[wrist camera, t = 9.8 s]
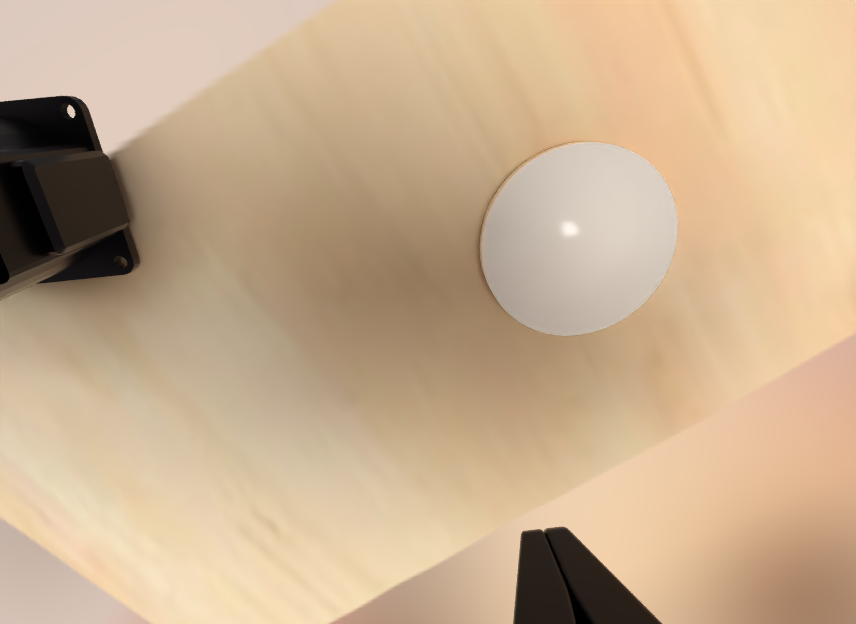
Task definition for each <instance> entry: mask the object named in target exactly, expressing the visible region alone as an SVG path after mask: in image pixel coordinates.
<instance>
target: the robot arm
mask: <svg viewBox="0 0 856 624" xmlns="http://www.w3.org/2000/svg"><path fill="white" fill-rule="evenodd" d="M68 105H71V106H72V107H73V108H74V110H75V117H74V118H72V117H70V116H69V114H68V113H67V107H68ZM128 223H129V218H128V215H127V212H126V209H125V206H124V203H123V200H122V197H121V194H120V191H119V188H118V185H117V182H116V179H115V176H114V173H113V170H112V167H111V164H110V161H109V158H108V156H106V155H105V154H104V153H103V151H102V148H101V145H100V142H99V139H98V136H97V133H96V130H95V127H94V124H93V121H92V118H91V115H90V112H89V110H88V108H87V106H86V104H85V103H84V102H83V101H82V100H80V99H78V98H76V97H71V96H56V97H46V98H35V99H24V100H14V101H4V102H0V300H2V299H4V298H6V297H8V296H11V295H13V294H15V293H17V292H19V291H21V290H23V289H25V288H28V287H30V286H32V285H34V284H38V283H48V282H58V281H67V280H77V279H87V278H96V277H106V276H116V275H125V274H128V273H130V272H132V271H134V270H135V269H136V268H137V267H138V264H139V259H138V256H137V253H136V250H135V247H134V244H133V241H132V238H131V235H130V232H129V229H128V226H127V225H128ZM119 256H121V257H123V258H125V259H126V261H127V266H126V265H123V264H122V263H121V262H120V261H119ZM513 624H662V623H661V622H660V621H659V620H658V619H657V618H656V617H655V616H654V615H653V614H652V613H651V612H650V611H649V610H648V609H647V608H646V607H645V606H644V605H643V604H642V603H641V602H640V601H639V600H638V599H637V598H636V597H635V596H634V595H633V594H632V593H631V592H630V591H629V590H628V589H627V588H626V587H625V586H624V585H623V584H622V583H621V582H620V581H619V580H618V579H617V578H616V577H615V576H614V575H613V574H612V573H611V572H610V571H609V570H608V569H607V568H606V567H605V566H604V565H603V564H602V563H601V562H600V561H599V560H598V559H597V558H596V557H595V556H594V555H593V554H592V553H591V552H590V551H589V550H588V549H587V548H586V547H585V546H584V545H583V544H582V543H581V541H580V540H579V539H577V537H575V535H574V534H573V533H571V532H570V530H568V529H567V528H565V527H555V528H547V529H545V530H544V532H543V531H542V530H540V529H537V530H528V531H523V532H522V534H521V541H520V552H519V563H518V575H517V586H516V598H515V609H514V620H513Z"/></svg>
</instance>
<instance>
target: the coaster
mask: <svg viewBox="0 0 856 624" xmlns="http://www.w3.org/2000/svg"><path fill="white" fill-rule="evenodd" d="M677 233H678V220H677V210H676V206H675V202H674V198H673V196H672V193H671V191H670V188H669V186H668V185H667V183H666V181H665V180H664V178H663V177H662V175H661V174H660V173H659V172H658V170H657V169H656V168H655V167H654V166H653V165H652V164H651V163H649V162H648V161H647V160H646V159H644V158H643V157H641V156H640V155H638V154H637V153H635V152H633V151H630V150H628V149H626V148H624V147H620V146H616V145H612V144H607V143H599V142H590V141H587V142H572V143H567V144H562V145H559V146H555V147H552V148H549V149H547V150H545V151H543V152H541V153H538V154H537V155H535V156H533V157H532V158H530V159H529V160H527V161H525V162H524V163H523V164H522V165H520V166H519V167H518V168H517V169H516V170H514V171H513V172H512V174H511V175H510V176H509V177H508V178H507V179H506V180H505V181H504V182H503V184H502V185H501V186H500V188H499V189H498V190H497V192H496V193H495V195H494V197H493V199H492V200H491V202H490V204H489V207H488V209H487V211H486V214H485V217H484V220H483V224H482V228H481V234H480V260H481V266H482V269H483V273H484V276H485V279H486V281H487V283H488V286H489V288H490V289H491V291H492V293H493V295H494V296H495V298H496V300H497V301H498V303H499V304H500V305H501V306H502V308H503V309H504V310H505V311H506V312H507V313H508V314H509V315H510V316H512V317H513V318H514V319H515V320H517V321H518V322H520V323H521V324H523V325H525V326H527V327H529V328H531V329H533V330H536V331H539V332H542V333H546V334H551V335H560V336H575V335H583V334H589V333H592V332H596V331H599V330H602V329H605V328H607V327H610V326H612V325H614V324H616V323H618V322H619V321H621V320H623V319H625V318H626V317H627V316H629V315H630V314H632V313H633V312H634V311H636V310H637V309H638V308H639V307H640V306H641V305H643V304H644V303H645V301H646V300H647V299H648V298H649V297H650V296H651V295H652V294H653V292H654V291H655V290H656V288H657V287H658V286H659V284H660V283H661V281H662V279H663V278H664V276H665V274H666V272H667V270H668V268H669V266H670V263H671V261H672V258H673V254H674V251H675V247H676V241H677Z"/></svg>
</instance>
